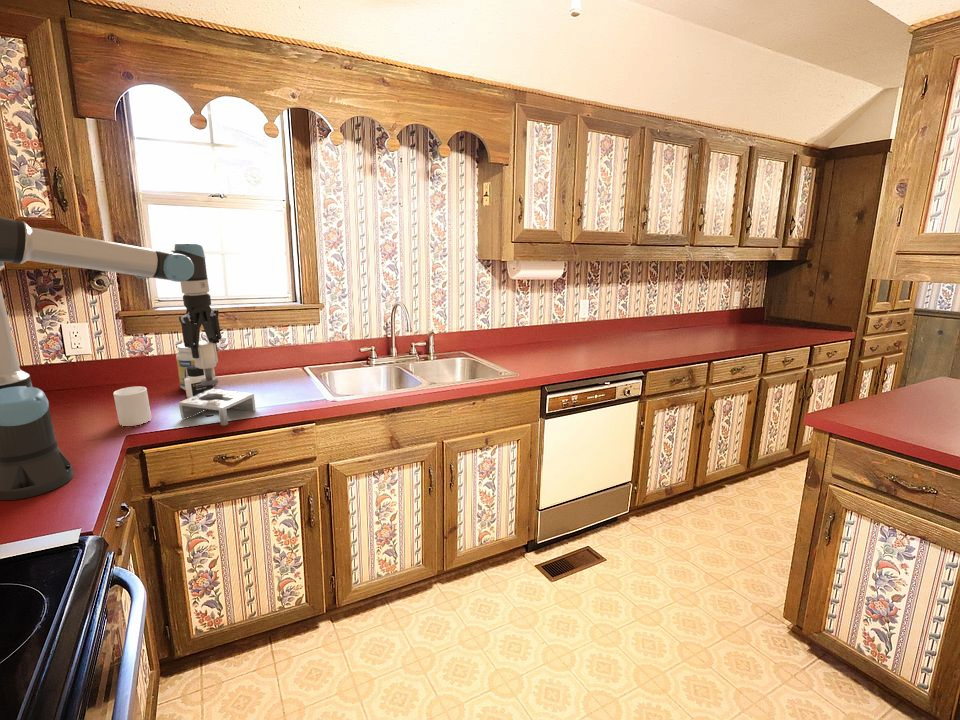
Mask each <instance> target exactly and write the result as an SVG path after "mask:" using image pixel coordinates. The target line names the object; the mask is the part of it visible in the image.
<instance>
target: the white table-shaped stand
mask: <svg viewBox="0 0 960 720" xmlns="http://www.w3.org/2000/svg"><path fill="white" fill-rule="evenodd" d="M178 405H179V412H180V413H179V414H180V419H181V418H182V419H184V418H187V417H189V418H191V417H190V416H192V417H194V416H196V415H198V414H197V413H199V412H201V411H203V410H205V411H207V410H206V409H208V410H213V411H218V414H219V421H220V423H219V424H220V426H224V427H225V426H227V425H229V418H228V414H227V413H228V412H227V409H228V410H229V409H235V410H241V411H249V412H254V411H256V400H255V394H254V393H251V392H243V391H234V390H226V389H217V388H213V389H211V390H208V391H206V392H203V393H200V394H198V395H195V396H193V397H190V398H188V397H187V398H185V399H183V400H181V401H178ZM203 412H204V411H203ZM201 413H202V412H201ZM195 414H196V415H195ZM199 414H200V413H199ZM193 415H194V416H193ZM182 419H181V420H182ZM187 419H188V418H187Z"/></svg>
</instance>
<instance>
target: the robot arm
mask: <svg viewBox="0 0 960 720" xmlns="http://www.w3.org/2000/svg"><path fill="white" fill-rule="evenodd" d="M28 261H29V262H37V263H43V264H44V263H45V264H50V265H57V266H65V267H71V268H72V267H73V268H79V269H80V268H81V269H86V270H87V269H89V270H95V271H101V272H110V273H116V274H124V275H132V276H135V277H136V278H137V279H150V278H151V279H159V280H166V281H172V282H175V283H176V282H177V283H178V282H180V288H181V294H183V295H182V300H183V301H182V302H183V306H184V307H185V308H186V311H185V314H184V315H180V316H179V317H178V320H179V323H180V324H181V330H182V331H181V332H182V337H183V343H184V346H185V347H188V348H191V351H192V357H193V358H194V361H195V367H197V368H204V363H203V356H202V350H201V348H198V347H199V342H200V334H201V333H200V331H201V327H203V330H204V333H205V336H206V338H207V342H212V343H213V346H214V353H215V360H216V364H217V363H219V357H218V350H219V349H218V344H219V343H220V340H221V339H222V334H221V328H220V320H219V313H220V311H219V310H218V309H212V308H211V305H212V298H211V294H210V293H209V292H210V286H209V280H208V274H207V264H206V255H205V250H204V248H203V245H202V244H201V243H200V242H176V243H175V244H174V249H171V250H159V249H157V250H156V249H153V248H148V247H143V246H142V247H141V246H136V245H131V244H124V243H119V242H114V241H109V240H103V239H102V240H101V239H97V238H92V237H87V236H82V235H81V236H79V235H75V234H69V233H64V232H59V231H54V230H53V231H52V230H47V229H41V228H35V227H30V225H28V224H27V223H26V221H24V220H23V221H22V220H17V219H12V218H8V217H4V216H0V272H1V271H2V270H3V269H4V268H5V263H11V264H19V265H22V264H24V263H26V262H28ZM14 341H15V340H14V338H13V334H12V329H11V325H10V320H9V316H8V313H7V307H6V303H5V300H4V294H3V290H2V286H1V285H0V501H13V500H23V499H27V498H32V497H37V496H40V495H43V494H46V493H48V492H51V491H53V490H56V489H58V488H60V487H62V486H64V485H66V484H67V483H68V482H70V481H71V480H72V479H73V477H74V476H75V473H74V469H73V466H72V464H71V462H70V461H69V460H68V458H67V457H66V456H65V455H64V454H63V452H62V451H61V449H60V448H59V446H58V445H59V444H58V441H57V437H56V434H55V432H56V431H55V429H54V424H53V421H52V416H51V412H50V403H49V400H48V398H47V396H46V394H45V392H44V391H43V390H42V389H40V388H39V387H34V386H33V383H32V380H31V379H32V378H31V375H30V373H28V372H26V371H24V370H22V369H21V368H20V363H19V359H18V354H17V351H16V345H15V342H14Z"/></svg>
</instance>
